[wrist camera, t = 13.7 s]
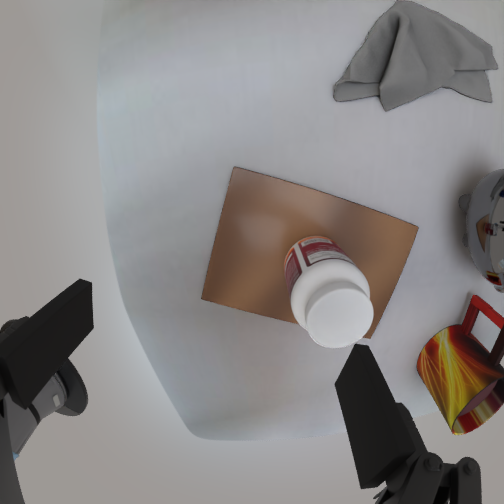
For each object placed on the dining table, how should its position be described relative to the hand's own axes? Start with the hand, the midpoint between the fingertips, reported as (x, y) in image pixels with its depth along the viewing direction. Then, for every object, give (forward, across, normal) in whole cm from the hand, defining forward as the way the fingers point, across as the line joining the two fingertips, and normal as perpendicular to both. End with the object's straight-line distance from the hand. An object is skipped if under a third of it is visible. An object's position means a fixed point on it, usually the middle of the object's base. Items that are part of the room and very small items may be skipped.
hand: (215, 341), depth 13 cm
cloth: (+17, +14, +26) cm, 35 cm away
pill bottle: (+16, +8, 0) cm, 18 cm away
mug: (+17, +30, -7) cm, 35 cm away
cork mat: (+17, +8, 0) cm, 18 cm away
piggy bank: (+17, +27, +10) cm, 33 cm away
